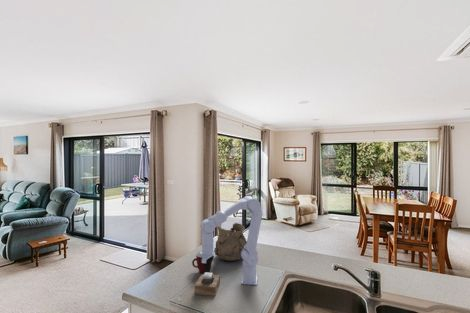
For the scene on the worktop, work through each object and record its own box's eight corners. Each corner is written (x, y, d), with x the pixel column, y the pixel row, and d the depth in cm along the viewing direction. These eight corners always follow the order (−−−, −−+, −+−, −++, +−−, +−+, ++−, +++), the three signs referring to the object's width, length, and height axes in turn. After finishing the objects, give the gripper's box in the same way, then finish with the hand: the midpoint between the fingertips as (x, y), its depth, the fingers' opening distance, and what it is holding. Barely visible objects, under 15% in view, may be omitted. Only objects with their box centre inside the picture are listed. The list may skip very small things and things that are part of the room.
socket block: (201, 282, 122) (201, 274, 122) (219, 283, 120) (219, 275, 120) (194, 294, 111) (194, 285, 111) (215, 295, 109) (215, 287, 110)
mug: (191, 275, 128) (190, 257, 128) (193, 269, 136) (193, 251, 137) (210, 275, 129) (210, 257, 129) (211, 268, 137) (210, 251, 137)
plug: (205, 286, 118) (205, 272, 118) (212, 286, 117) (212, 272, 117) (203, 290, 114) (203, 276, 114) (211, 291, 113) (211, 276, 113)
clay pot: (237, 269, 136) (237, 232, 136) (205, 260, 148) (205, 226, 148) (255, 254, 157) (255, 222, 158) (226, 247, 169) (226, 218, 169)
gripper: (203, 238, 124) (203, 264, 123) (195, 249, 109) (195, 278, 109) (216, 239, 123) (216, 265, 122) (210, 250, 108) (210, 279, 108)
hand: (207, 271), depth 116 cm, fingers closed
